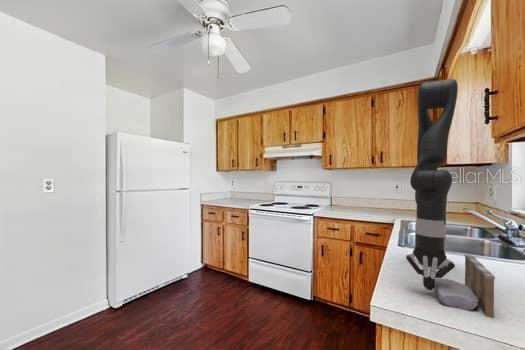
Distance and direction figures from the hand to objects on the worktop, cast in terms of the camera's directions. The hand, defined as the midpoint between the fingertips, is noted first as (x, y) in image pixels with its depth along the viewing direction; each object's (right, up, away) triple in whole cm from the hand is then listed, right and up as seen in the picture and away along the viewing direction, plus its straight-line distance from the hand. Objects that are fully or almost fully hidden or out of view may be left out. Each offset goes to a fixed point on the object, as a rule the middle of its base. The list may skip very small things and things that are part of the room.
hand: (428, 288), depth 74 cm
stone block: (+6, -2, -3) cm, 7 cm away
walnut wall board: (+13, -2, -3) cm, 13 cm away
